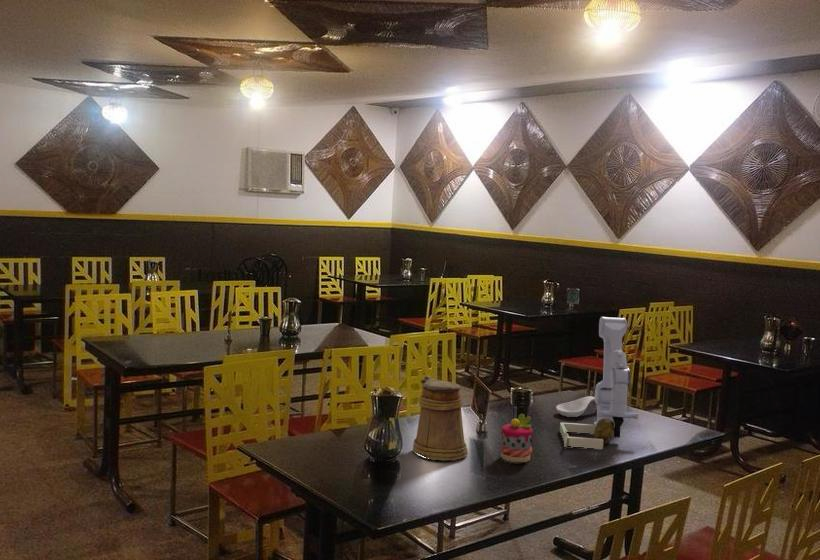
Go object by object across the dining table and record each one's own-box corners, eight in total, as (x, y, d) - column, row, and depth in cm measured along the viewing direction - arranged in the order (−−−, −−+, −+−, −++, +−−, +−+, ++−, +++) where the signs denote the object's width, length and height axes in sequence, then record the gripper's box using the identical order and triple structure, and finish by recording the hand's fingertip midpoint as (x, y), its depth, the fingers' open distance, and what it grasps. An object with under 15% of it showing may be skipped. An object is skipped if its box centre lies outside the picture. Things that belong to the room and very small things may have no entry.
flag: (563, 447, 268) (564, 429, 267) (566, 447, 268) (567, 429, 267) (564, 450, 265) (565, 432, 264) (567, 450, 265) (568, 432, 264)
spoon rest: (569, 421, 303) (570, 404, 302) (549, 414, 313) (550, 397, 312) (611, 415, 315) (612, 398, 315) (591, 408, 325) (592, 392, 325)
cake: (523, 466, 246) (526, 422, 245) (494, 460, 251) (497, 416, 250) (535, 458, 255) (538, 415, 253) (507, 452, 260) (509, 410, 259)
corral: (559, 431, 288) (560, 422, 288) (594, 433, 287) (594, 424, 287) (565, 447, 269) (566, 437, 268) (602, 449, 268) (603, 440, 267)
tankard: (431, 466, 243) (435, 391, 240) (396, 445, 263) (399, 375, 261) (477, 458, 252) (481, 386, 250) (440, 439, 272) (443, 371, 270)
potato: (584, 443, 274) (584, 422, 274) (601, 437, 283) (601, 416, 283) (605, 447, 268) (605, 425, 268) (622, 440, 278) (621, 418, 278)
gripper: (600, 402, 272) (598, 438, 273) (641, 404, 271) (638, 441, 272) (597, 397, 279) (595, 433, 280) (637, 399, 278) (634, 435, 279)
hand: (616, 436), depth 276 cm, fingers closed, pressing on potato
